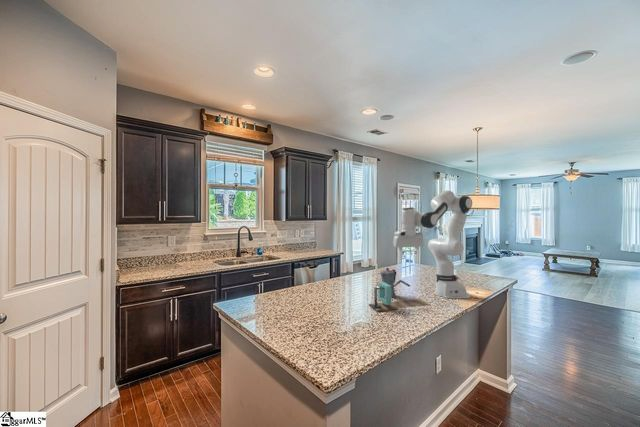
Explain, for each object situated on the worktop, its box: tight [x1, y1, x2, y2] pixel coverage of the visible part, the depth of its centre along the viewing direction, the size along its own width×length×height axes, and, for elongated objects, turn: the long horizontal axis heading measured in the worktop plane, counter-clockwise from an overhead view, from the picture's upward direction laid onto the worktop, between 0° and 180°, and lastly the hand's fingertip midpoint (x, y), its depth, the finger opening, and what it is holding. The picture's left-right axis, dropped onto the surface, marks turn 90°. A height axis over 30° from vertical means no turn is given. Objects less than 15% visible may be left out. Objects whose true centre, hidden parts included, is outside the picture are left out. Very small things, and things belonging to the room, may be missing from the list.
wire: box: [369, 279, 411, 309], centre depth 171 cm, size 26×5×15 cm, turn 104°
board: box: [368, 298, 431, 313], centre depth 172 cm, size 36×12×1 cm, turn 104°
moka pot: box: [380, 267, 397, 298], centre depth 192 cm, size 10×15×20 cm, turn 132°
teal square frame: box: [377, 281, 392, 305], centre depth 170 cm, size 3×11×11 cm, turn 14°
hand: (408, 253), depth 180 cm, fingers open, 8 cm apart
